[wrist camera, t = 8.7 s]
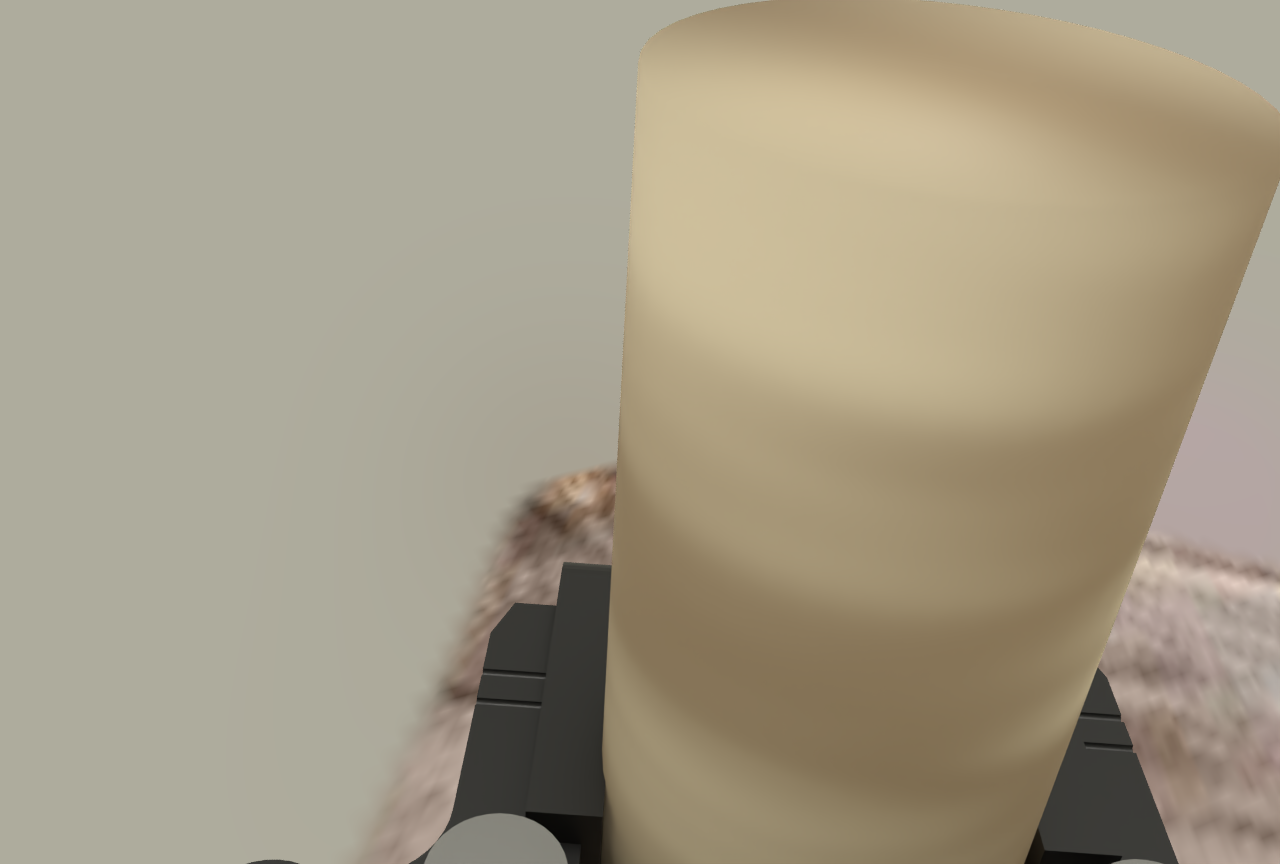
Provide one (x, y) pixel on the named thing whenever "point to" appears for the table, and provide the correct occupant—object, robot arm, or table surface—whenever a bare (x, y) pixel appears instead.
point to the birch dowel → (898, 412)
